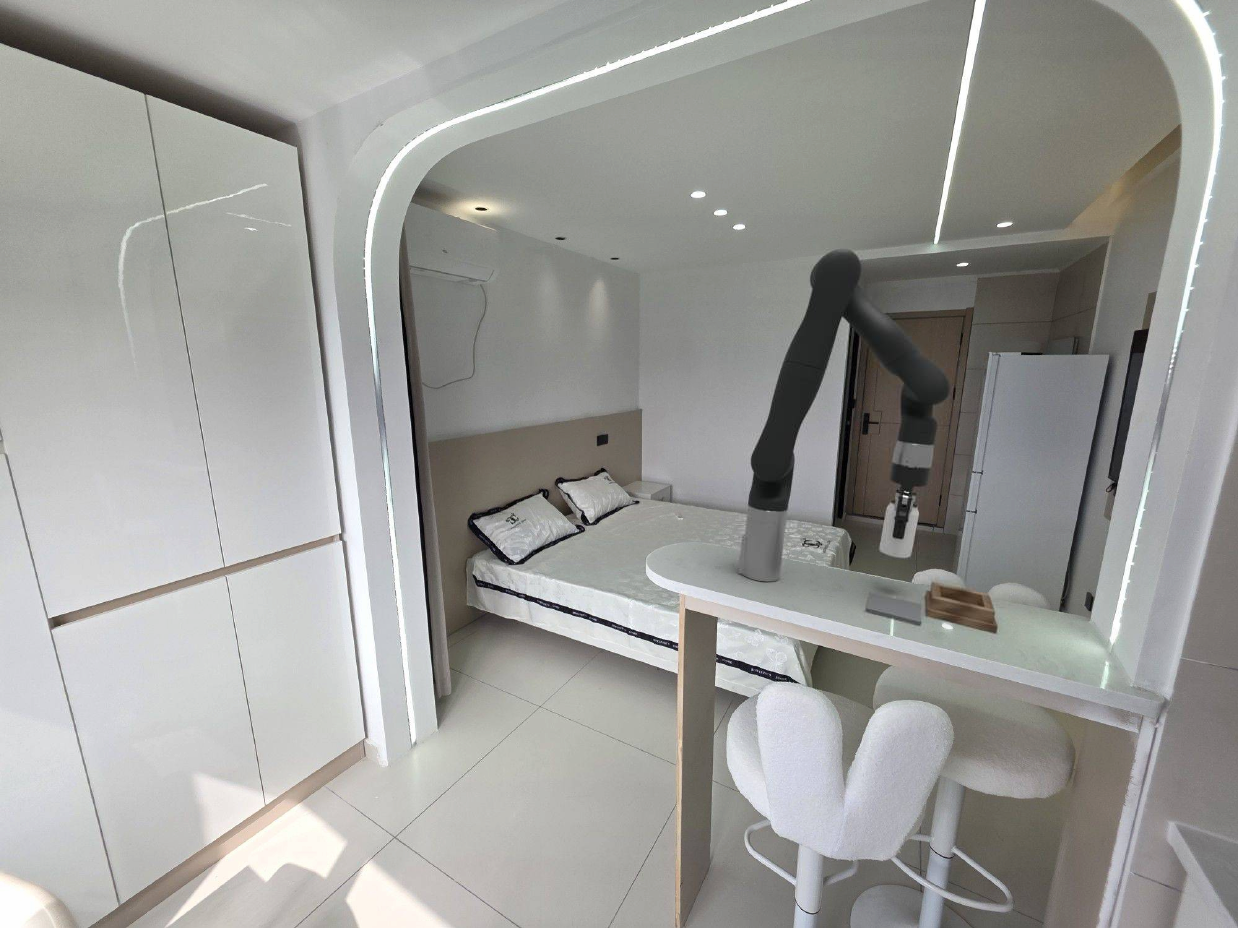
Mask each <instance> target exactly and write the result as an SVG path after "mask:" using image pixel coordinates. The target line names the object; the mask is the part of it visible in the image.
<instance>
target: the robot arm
mask: <svg viewBox="0 0 1238 928" xmlns="http://www.w3.org/2000/svg"><path fill="white" fill-rule="evenodd" d="M861 276H862V262H861V260H860V258H859V257H858V255H857V254H856V252H854V251H852V250H850V249H848V248H838V249H834V250H831V251H829V252H828V253H826V254H825V255H823V256H822V257H821V258H820V259H819V260H818V261H817V263H815V265H814V266H813V268H812V269H811V271H810V277H809V284H810V287H811V289H812V290H811V293H810V297H809V301H808V305H807V309H806V310H805V314H804V317H803V319H802V321H801V323H800V325H799V327H798V328H797V330H796V332H795V334H794V337H793V338H792V340H791V343H790V345H789V347H788V348H787V349H788V350H787V351H786V354H785V356H784V359H783V360H782V361H783V362H782V364H781V365H782V366H781V368H780V371H779V374H778V378H777V381H776V384H775V388H774V392H773V396H772V399H771V405H770V409H769V413H768V416H767V419H766V422H765V424H764V426H763V429H762V431H761V434H760V436H759V439H758V440H757V443H756V444H755V447H754V449H753V450H752V453H751V455H750V466H751V470H752V471H753V473H752V475H753V476H752V483H751V487H750V490H749V494H748V501H747V511H746V520H745V527H744V528H745V530H744V534H743V535H742V536H741V544H740V554H739V564H738V574H740V575H743V576H745V577H746V578H748V579H751V580H755V581H759V582H775V581H778V580H779V579H780V576H781V571H782V570H781V569H782V562H783V552H784V544H785V543H784V542H785V536H786V528H787V526H786V525H787V519H788V518H787V517H788V511H789V509H788V508H789V503H790V497H791V493H792V486H793V480H794V479H793V478H794V470H795V452H794V450H795V446H796V443H797V442H796V441H797V438H798V434H799V432H800V429H801V426H802V424H803V422H804V420H805V418H806V416H807V415H808V412H809V411H810V409H811V407H812V405H813V403H814V402H815V400H816V397H817V395H818V392H819V391H820V387H821V386H822V385H821V384H822V382H823V379H824V377H825V374H826V371H827V368H828V365H829V362H830V359H831V355H832V352H833V349H834V345H835V342H836V337H837V334H838V331H839V330H838V329H839V327H840V324H841V321H842V318H843V319H844V320H845V321H846V322H847V324H849V325H850V326H851V328H852V329H853V330H854V331H855V332H856V333H857V334H858V336H859V337H860V338H861V339H862V341H863V342H864V344H865V345H866V346H867V347H868V349H869V350H870V352H872V354H873V355H874V356H875V357H876V358H877V360H878V361H879V362H880V364H882V366H883V367H884V369H886V371H888V372H889V373H890V374H892V375H895V376H896V377H898V378H899V379H900V380H901V382H902V383H903V385H902V387H901V391H900V419H901V420H900V425H899V431H898V436H897V441H896V445H895V447H894V449H893V450H894V451H893V457H892V462H891V465H890V472H889V477H888V478H889V479H888V480H889V481H891V482H892V483H893V484H899V485H900V486H899V489H896V491H895V496H894V499H895V501H896V502H895V507H894V510H895V511H896V516H895V517H894V520H895V524H894V530H893V535H892V536H893V538H897V539H903V538H904V533H905V528H906V524H907V522H908V521H909V519H908V517H909V514H911V512H912V508H913V504H914V503H915V501H916V498H917V497H916V496H917V492H915V491H914V488H915V487H918V488H924V487H927V486H928V484H929V479H930V474H931V469H932V465H933V464H932V463H933V459H934V458H933V457H934V446H935V441H936V437H937V430H938V422H937V420H936V419H935V417H934V415H933V411H934V409H933V408H934V406H935V405H938V404H942V403H943V402H944V401H946V399H947V398H948V397H949V395H950V393H951V384H950V380H949V379H948V377H947V376H946V374H945V372H943V371H942V370H941V369H940V368H939V367H938V366H937V365H936V364H935V363H934V362H933V361H931V360H930V359H929V358H928V357H927V356H926V355H924V354H923V353H922V352H920V350H919V349H918V347H917V346H916V345H915V343H914V342H913V341H912V340H911V338H910V337H909V336H908V335H907V333H906V332H905V330H903V329H902V328H901V327H900V325H898V323H896V321H894V320H893V319H892V318H891V317H889V315H888V314H887V313H884V312H883V310H881V309H880V308H878V306H877V305H876V304H875V303H874V302H873V301H872V300H871V299H870V298H869V297H868V296H867V295H866V293H865V292H864V290H863V288H862V287H861V285H860V280H861ZM899 512H905V513H906V517H905V516H899V515H898V513H899Z"/></svg>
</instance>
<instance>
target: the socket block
mask: <svg viewBox="0 0 1238 928" xmlns="http://www.w3.org/2000/svg"><path fill="white" fill-rule="evenodd" d="M924 599H925V617H929V618H932V619H937V620H940V621H945V622H949V623H952V624H956V625H960V626H961V625H962V626H964V627H968V628H973V629H977V630H981V631H984V632H988V633H992V634H993V633H994V634H997V631H998V623H997V620H996V610H995V608H994V605H993V602H992V599H991V596H990V594H989V593H985V592H981V591H980V592H979V591H975V590H971V589H966V588H962V587H957V586H952V585H949V584H944V583H939V582H934V581H931V584H930V590H926V592H925V598H924Z"/></svg>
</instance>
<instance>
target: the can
mask: <svg viewBox="0 0 1238 928" xmlns="http://www.w3.org/2000/svg"><path fill="white" fill-rule="evenodd" d="M895 502H896V500H890V501H889V503H888V505H887V507H886V509H885V513H884V519H883V526H882V531H881V537H880V543H879V547H878V550H879V551H880V553H881V554H883V555H885V556H888V557H891V558H894V559H895V558H896V559H901V560H903V559H904V560H905V559H908V558H910V557H911V556H912V551H913V547H914V542H915V536H916V533H917V532H916V531H917V525H918V520H919V517H920V513H919V512H920V511H919V509H918V508H919V505H917V504H915V503H913V508H912V512H911V514H909V517H908V519H909V521H908V522H907V524H906V528H905V533H904V538H903V539H897V538H893V536H892V535H893V530H894V524H895V520H894V517H895V516H896V511H895V510H894V507H895ZM898 515H899V516H905V517H906V513H905V512H899V513H898Z"/></svg>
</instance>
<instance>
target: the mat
mask: <svg viewBox="0 0 1238 928" xmlns="http://www.w3.org/2000/svg"><path fill="white" fill-rule="evenodd" d="M865 612H866V613H870V614H873V615H877V616H881V617H885V618H889V619H892V620H897V621H900V622H903V623H909V624H912V625H916V626H919V627H921V624H922V622H921V621H922V604H920V603H918V602H917V603H916V602H913V601H910V600H905V599H900V598H896V597H891V596H888V595H885V594H884V595H883V594H881V593H880V594H879V593H876V592H872V591H870V592H869V595H868V599H867V603H866V607H865Z"/></svg>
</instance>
